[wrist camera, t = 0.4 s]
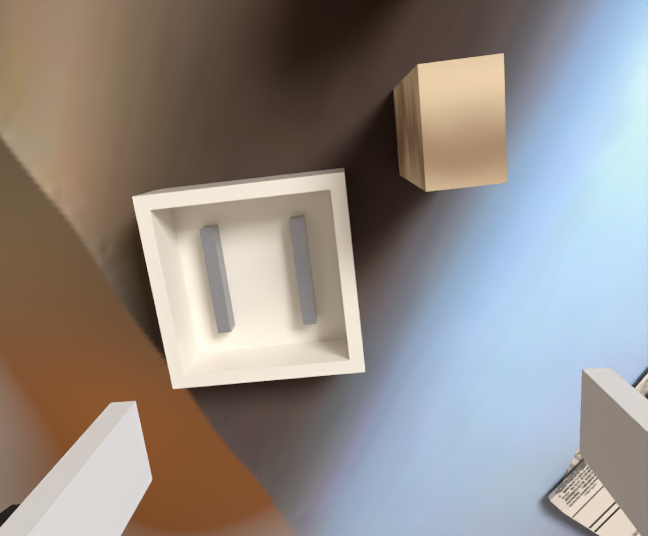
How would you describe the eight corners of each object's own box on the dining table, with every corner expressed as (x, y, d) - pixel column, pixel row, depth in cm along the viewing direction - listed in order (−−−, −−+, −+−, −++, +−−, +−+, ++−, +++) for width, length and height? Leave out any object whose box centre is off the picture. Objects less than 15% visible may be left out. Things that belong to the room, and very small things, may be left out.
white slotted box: (159, 189, 37) (131, 196, 32) (344, 167, 36) (344, 171, 32) (193, 359, 41) (172, 389, 36) (362, 343, 40) (365, 371, 35)
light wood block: (393, 89, 35) (417, 64, 23) (450, 82, 35) (503, 53, 23) (399, 175, 36) (425, 191, 25) (454, 168, 36) (507, 182, 25)
